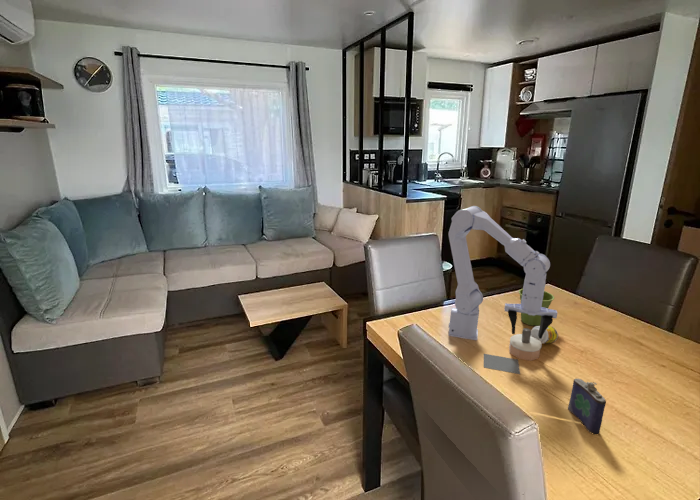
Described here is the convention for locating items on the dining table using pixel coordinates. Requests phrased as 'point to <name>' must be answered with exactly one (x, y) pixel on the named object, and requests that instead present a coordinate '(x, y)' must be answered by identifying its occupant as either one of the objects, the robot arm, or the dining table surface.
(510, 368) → the mat
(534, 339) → the lid
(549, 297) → the plant pot
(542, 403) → the dining table surface
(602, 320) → the dining table surface
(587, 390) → the flask
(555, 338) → the supplement bottle
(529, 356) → the bowl
